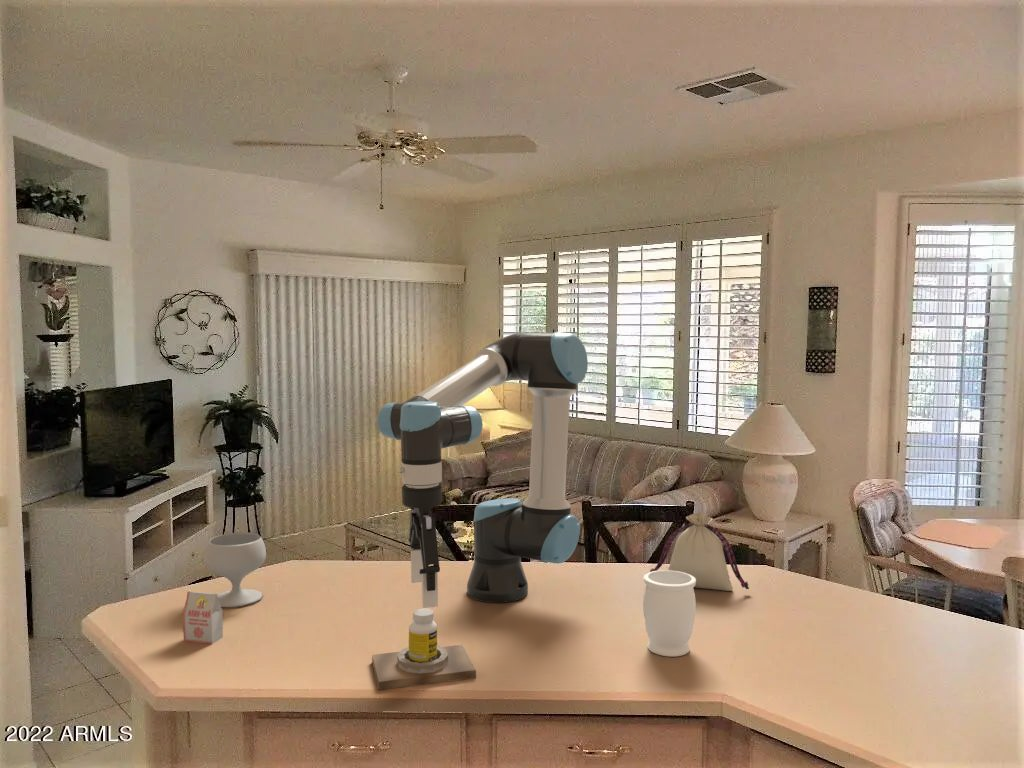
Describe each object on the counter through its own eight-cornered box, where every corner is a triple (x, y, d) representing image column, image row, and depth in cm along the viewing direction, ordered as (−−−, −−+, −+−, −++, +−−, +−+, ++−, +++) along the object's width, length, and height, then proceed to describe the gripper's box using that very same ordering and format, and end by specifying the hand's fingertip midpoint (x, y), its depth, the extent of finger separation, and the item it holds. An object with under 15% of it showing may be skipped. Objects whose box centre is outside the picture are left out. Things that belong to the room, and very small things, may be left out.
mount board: (462, 651, 153) (462, 637, 153) (475, 677, 142) (475, 662, 142) (372, 662, 148) (372, 647, 148) (378, 689, 137) (378, 673, 137)
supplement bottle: (432, 669, 142) (432, 618, 141) (404, 666, 143) (404, 615, 142) (440, 657, 147) (440, 608, 147) (414, 654, 148) (414, 605, 148)
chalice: (279, 596, 185) (278, 536, 184) (230, 614, 173) (229, 550, 172) (241, 586, 193) (240, 528, 192) (192, 602, 181) (191, 540, 180)
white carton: (194, 634, 162) (193, 588, 161) (222, 637, 160) (221, 591, 160) (183, 641, 158) (182, 594, 158) (212, 644, 157) (211, 597, 156)
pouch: (749, 587, 193) (750, 514, 192) (748, 598, 185) (750, 521, 184) (650, 577, 200) (651, 506, 199) (645, 587, 193) (647, 514, 191)
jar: (664, 664, 148) (665, 588, 147) (632, 644, 157) (633, 573, 156) (705, 653, 153) (707, 580, 152) (672, 635, 162) (673, 566, 161)
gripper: (393, 472, 154) (395, 574, 156) (412, 500, 130) (414, 620, 132) (430, 470, 156) (432, 570, 158) (455, 497, 132) (456, 615, 134)
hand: (424, 593), depth 145 cm, fingers open, 13 cm apart
